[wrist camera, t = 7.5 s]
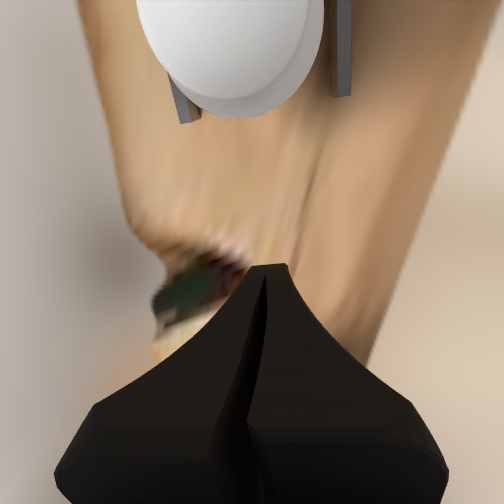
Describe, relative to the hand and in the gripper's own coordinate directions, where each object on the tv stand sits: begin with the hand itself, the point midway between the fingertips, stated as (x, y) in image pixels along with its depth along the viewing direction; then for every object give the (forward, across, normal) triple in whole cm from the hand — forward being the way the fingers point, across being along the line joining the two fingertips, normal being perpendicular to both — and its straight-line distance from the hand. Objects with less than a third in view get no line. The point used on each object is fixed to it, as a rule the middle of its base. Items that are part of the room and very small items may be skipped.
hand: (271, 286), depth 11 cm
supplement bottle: (+9, 0, -8) cm, 13 cm away
